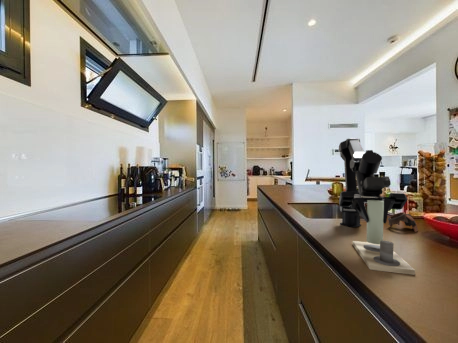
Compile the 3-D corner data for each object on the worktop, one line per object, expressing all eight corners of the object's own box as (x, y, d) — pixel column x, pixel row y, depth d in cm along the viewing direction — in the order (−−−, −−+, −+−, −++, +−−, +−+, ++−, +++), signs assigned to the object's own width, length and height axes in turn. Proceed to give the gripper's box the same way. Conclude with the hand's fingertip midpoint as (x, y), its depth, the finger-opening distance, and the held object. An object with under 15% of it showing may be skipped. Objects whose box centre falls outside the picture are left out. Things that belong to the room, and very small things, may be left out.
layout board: (352, 244, 80) (352, 226, 79) (385, 247, 77) (386, 228, 76) (369, 269, 60) (370, 245, 60) (415, 274, 58) (415, 249, 57)
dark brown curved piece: (416, 235, 92) (403, 216, 93) (392, 239, 99) (381, 222, 101) (425, 223, 99) (413, 206, 100) (402, 228, 106) (391, 212, 108)
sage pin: (363, 239, 74) (364, 199, 74) (375, 239, 75) (376, 199, 74) (373, 244, 70) (374, 202, 70) (386, 244, 70) (387, 201, 70)
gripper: (341, 167, 78) (347, 205, 68) (405, 168, 73) (422, 209, 63) (336, 188, 86) (341, 225, 76) (394, 190, 81) (408, 229, 70)
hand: (376, 222), depth 71 cm, fingers closed on sage pin, 4 cm apart
